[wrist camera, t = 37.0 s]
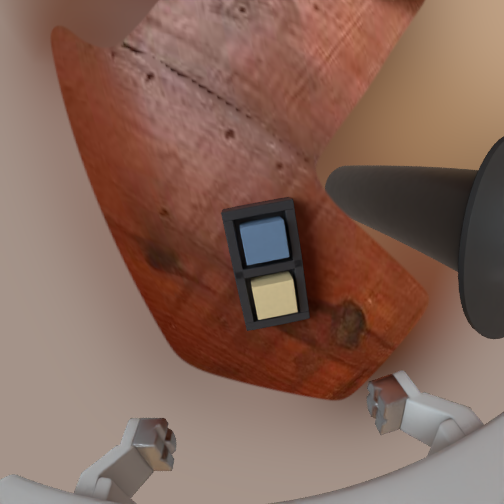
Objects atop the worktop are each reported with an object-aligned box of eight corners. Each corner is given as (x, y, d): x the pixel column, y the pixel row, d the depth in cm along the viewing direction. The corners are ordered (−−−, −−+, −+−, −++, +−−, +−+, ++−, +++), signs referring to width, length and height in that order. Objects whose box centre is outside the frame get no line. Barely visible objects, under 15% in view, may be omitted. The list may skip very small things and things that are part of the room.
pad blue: (279, 215, 33) (283, 219, 30) (285, 249, 34) (289, 257, 31) (239, 223, 33) (239, 228, 30) (246, 257, 34) (247, 265, 31)
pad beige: (288, 270, 34) (293, 279, 32) (293, 301, 36) (297, 312, 33) (250, 277, 34) (251, 287, 32) (256, 308, 36) (258, 320, 33)
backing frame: (288, 196, 33) (293, 199, 30) (304, 308, 37) (309, 318, 34) (222, 209, 33) (221, 212, 30) (246, 319, 37) (247, 331, 34)
